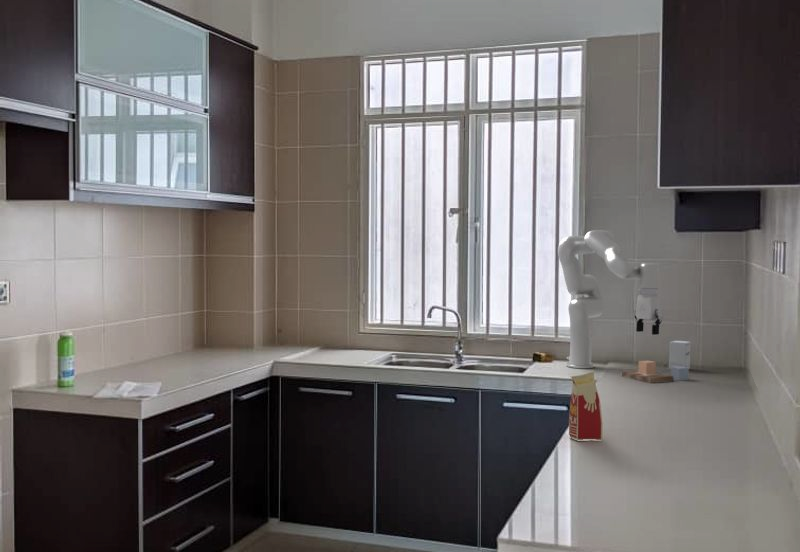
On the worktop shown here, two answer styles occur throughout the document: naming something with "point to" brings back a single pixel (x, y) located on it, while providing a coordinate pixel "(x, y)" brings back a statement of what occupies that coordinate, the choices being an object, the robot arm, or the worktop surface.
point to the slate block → (679, 373)
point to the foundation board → (647, 376)
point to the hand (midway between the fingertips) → (647, 332)
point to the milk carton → (585, 409)
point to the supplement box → (679, 354)
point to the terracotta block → (647, 367)
